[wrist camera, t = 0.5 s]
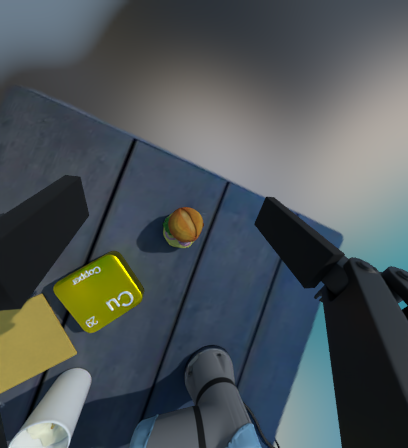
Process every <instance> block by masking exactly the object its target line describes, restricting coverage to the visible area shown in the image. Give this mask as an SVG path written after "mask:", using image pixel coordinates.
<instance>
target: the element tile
mask: <svg viewBox="0 0 408 448" xmlns="http://www.w3.org/2000/svg"><path fill="white" fill-rule="evenodd" d="M53 290H54V293H55V295H56V296H57V297H58V299H59V300H60V301H61V302H62V304H63V305H64V306H65V307H66V309H67V310H68V311H69V312H70V314H71V315H72V316H73V317H74V319H75V320H76V321H77V322H78V324H79V325H80V326H81V327H82V329H83V330H84V331H86V332H88V333H93V332H96V331H98V330H99V329H101V328H103V327H104V326H106V325H107V324H109V323H110V322H112V321H113V320H115V319H117V318H118V317H120V316H121V315H123V314H124V313H126V312H127V311H129V310H130V309H132V308H134V307H135V306H137V305H138V304H139V303H140V302H141V301H142V298H143V294H144V288H143V286H142V285H141V283H140V282H139V280H138V279H137V277H136V276H135V274H134V273H133V271H132V270H131V268H130V267H129V265H128V264H127V262H126V261H125V259H124V258H123V256H122V255H121V254H120V253H119V252H117V251H111V252H109V253H107V254H105V255H103V256H101V257H100V258H98V259H96V260H94V261H92V262H91V263H89V264H87V265H85V266H84V267H82V268H80V269H78V270H76V271H75V272H73V273H71V274H69V275H67V276H66V277H64V278H63V279H61V280H60V281H58V282H57V283H56V284H55V285H54V288H53Z"/></svg>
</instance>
